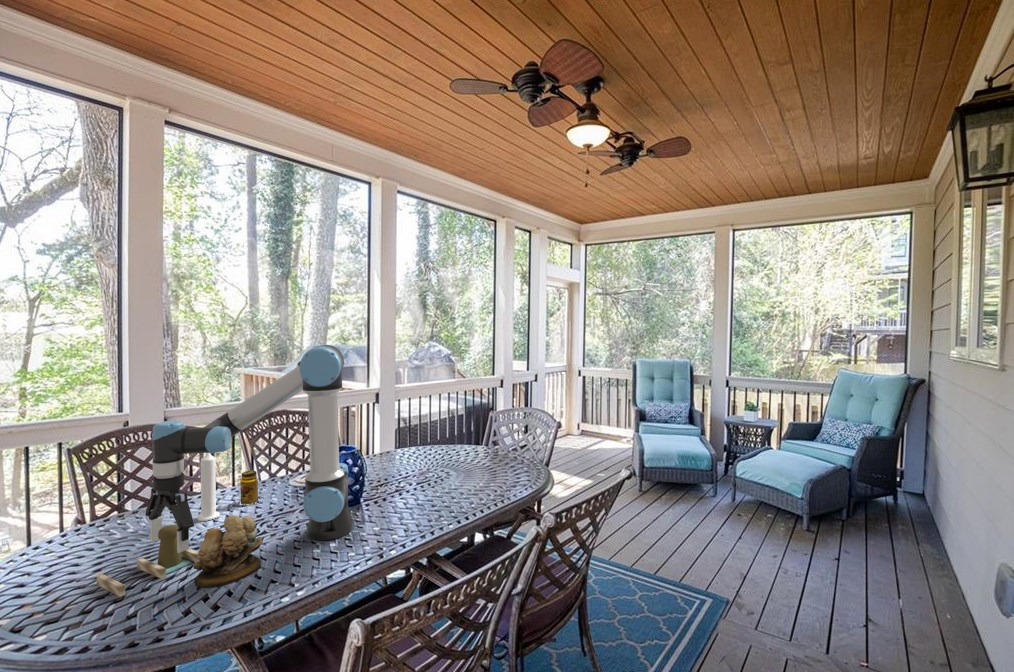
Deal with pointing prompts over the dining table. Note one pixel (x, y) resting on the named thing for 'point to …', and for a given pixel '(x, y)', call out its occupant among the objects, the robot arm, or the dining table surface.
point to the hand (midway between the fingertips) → (169, 545)
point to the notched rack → (147, 567)
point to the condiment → (249, 487)
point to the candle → (208, 489)
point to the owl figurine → (228, 553)
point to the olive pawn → (168, 547)
